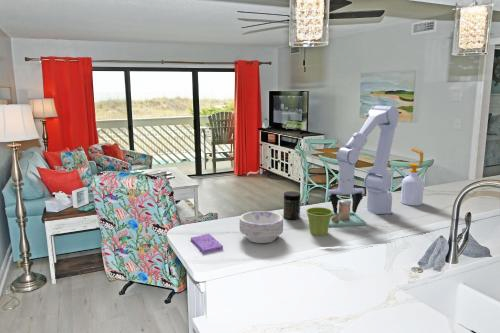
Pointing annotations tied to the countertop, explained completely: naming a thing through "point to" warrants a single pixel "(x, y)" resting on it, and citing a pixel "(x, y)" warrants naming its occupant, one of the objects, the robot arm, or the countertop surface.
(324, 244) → the countertop surface
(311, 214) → the plant pot
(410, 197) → the soap bottle
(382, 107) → the robot arm
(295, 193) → the supplement container
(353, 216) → the tray
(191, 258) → the countertop surface
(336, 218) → the ball
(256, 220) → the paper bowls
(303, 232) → the countertop surface
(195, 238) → the sponges
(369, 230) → the countertop surface
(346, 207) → the shaker
